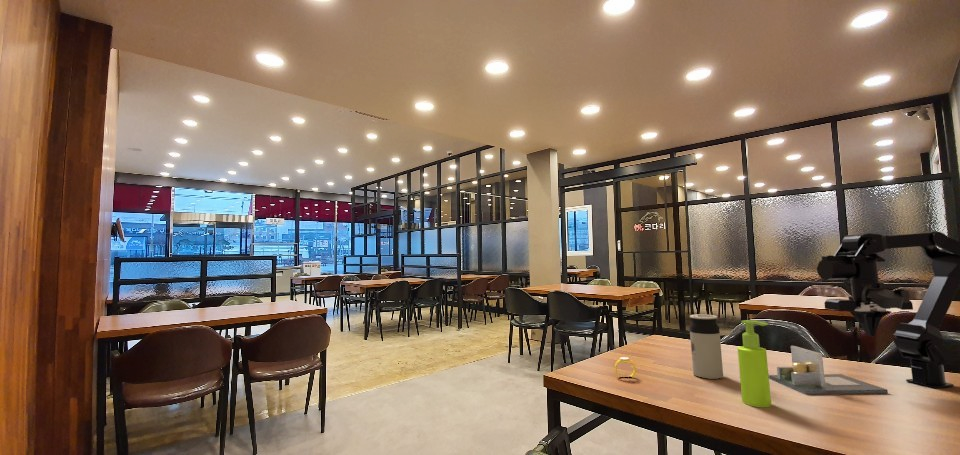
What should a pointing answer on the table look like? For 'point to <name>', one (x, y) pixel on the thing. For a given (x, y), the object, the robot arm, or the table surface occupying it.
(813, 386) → the base
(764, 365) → the soap dispenser
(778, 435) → the table surface
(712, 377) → the travel mug
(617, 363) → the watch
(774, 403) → the table surface
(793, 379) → the grey bracket
